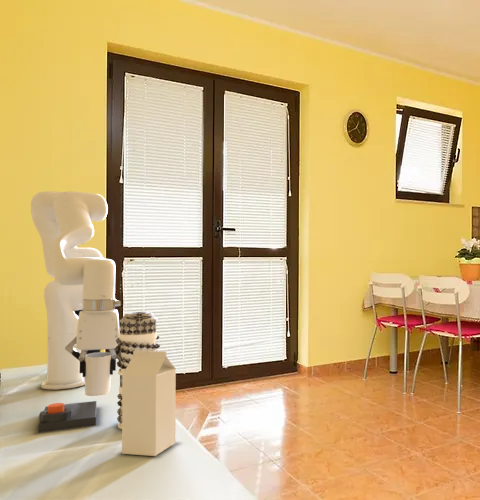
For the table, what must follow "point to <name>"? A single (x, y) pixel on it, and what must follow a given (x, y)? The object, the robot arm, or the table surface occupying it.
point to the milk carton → (148, 404)
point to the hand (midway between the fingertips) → (97, 374)
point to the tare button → (55, 408)
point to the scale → (69, 417)
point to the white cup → (97, 373)
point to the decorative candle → (134, 343)
